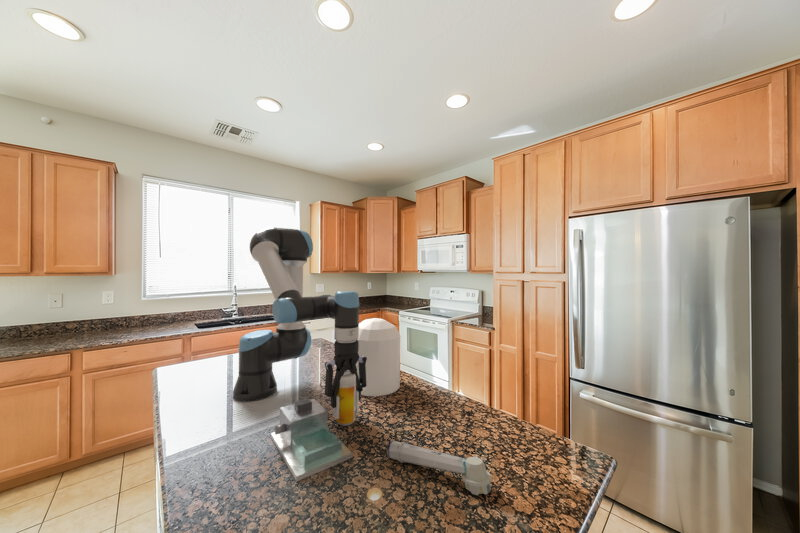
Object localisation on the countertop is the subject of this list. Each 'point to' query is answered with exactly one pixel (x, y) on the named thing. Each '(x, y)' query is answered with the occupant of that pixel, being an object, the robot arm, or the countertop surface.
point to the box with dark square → (307, 439)
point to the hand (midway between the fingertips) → (346, 413)
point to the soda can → (347, 399)
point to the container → (379, 356)
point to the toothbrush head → (444, 464)
